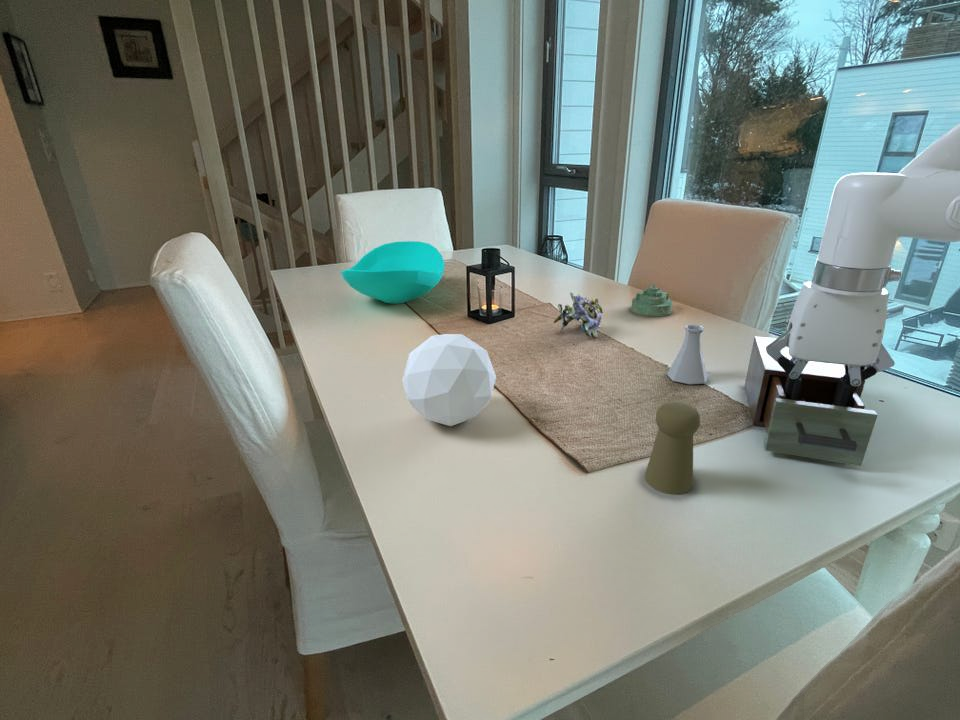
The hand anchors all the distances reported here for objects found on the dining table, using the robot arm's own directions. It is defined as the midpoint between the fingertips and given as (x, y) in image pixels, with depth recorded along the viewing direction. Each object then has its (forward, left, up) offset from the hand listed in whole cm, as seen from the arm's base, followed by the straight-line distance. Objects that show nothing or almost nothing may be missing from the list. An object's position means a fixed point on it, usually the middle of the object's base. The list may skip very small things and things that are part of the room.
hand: (814, 403), depth 72 cm
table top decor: (+94, -48, -7) cm, 106 cm away
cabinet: (0, -11, -7) cm, 13 cm away
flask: (+16, -19, -7) cm, 26 cm away
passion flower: (+40, -36, -7) cm, 54 cm away
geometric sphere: (+52, +9, -7) cm, 53 cm away
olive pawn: (+18, +15, -7) cm, 24 cm away
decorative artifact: (+25, -59, -7) cm, 64 cm away
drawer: (0, 0, -6) cm, 6 cm away
